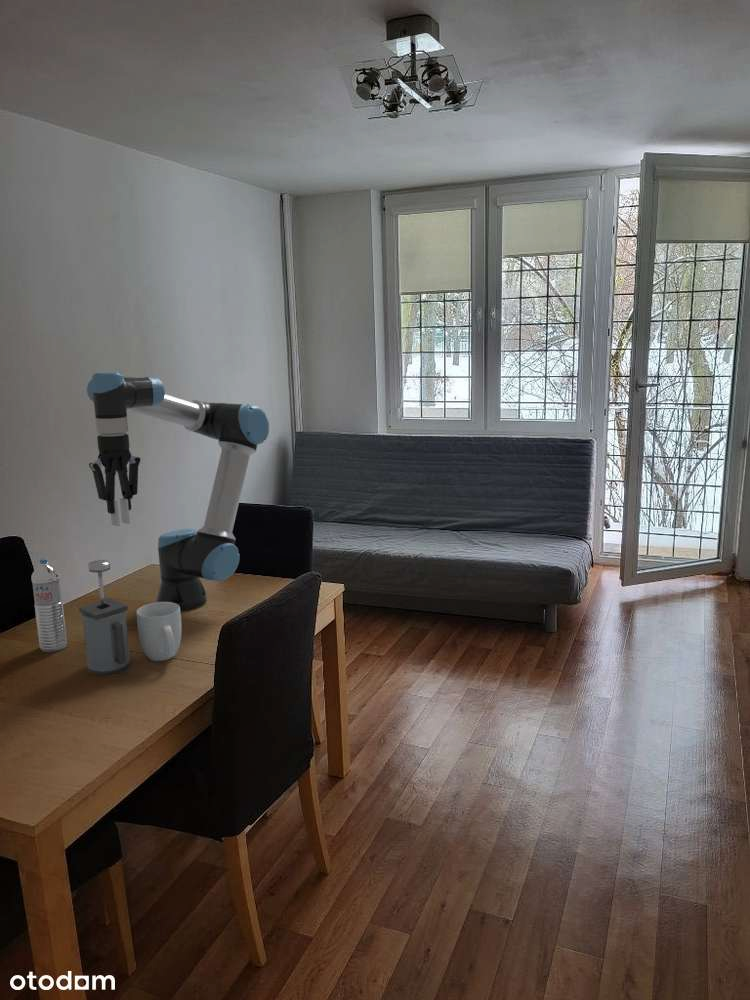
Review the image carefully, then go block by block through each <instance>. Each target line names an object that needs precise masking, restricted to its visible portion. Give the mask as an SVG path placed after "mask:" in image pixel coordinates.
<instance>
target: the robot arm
mask: <svg viewBox="0 0 750 1000" xmlns="http://www.w3.org/2000/svg"><path fill="white" fill-rule="evenodd" d="M91 376H92V378H91V379H90V380H89V382H88V383H87V387H86V394H87V396H88V398H89V400H91V402H92V403H93V406H94V415H95V429H96V434H98V436H97V437H96V439H97V449H98V452H99V453H98V456H97V459H96V460H95V461H94V462H90V463H89V464H88V467H89V469H91V471H92V474H93V478H94V483H95V486H96V487H95V488H96V493H97V497H98V499H99V500H102V501H105V502H106V509H107V513H108V514H110V519H111V520H110V521H111V525H112V526H115V527H120V526H121V524H122V523H123V524H126V525H129V524H131V521H130V520H131V518H130V511H131V510H132V501H131V500H132V499H133V497H134V496H136V495H138V485H139V484H138V481H139V465H140V463H141V459H142V458H141V457H138V456H134V455H132V453H131V451H130V437H129V434H128V432H129V423H128V414H127V412H128V411H131V412H133V413H138V414H141V415H145V416H148V417H152V418H156V419H159V420H162V421H166V422H170V423H173V424H177V425H180V426H183V427H184V428H185V429H186V431H188V432H189V431H190V432H192V433H196V434H200V435H202V436H205V437H207V438H210V439H213V440H218V442H217V444H218V445H219V447H220V448H221V451H220V456H219V460H218V465H217V467H216V468H217V469H216V473H215V476H214V481H213V486H212V488H211V489H212V490H211V494H210V498H209V501H208V508H207V511H206V515H205V518H204V519H205V520H204V524H203V526H202V527H201V528H199V529H198V530H195V529H193V528H185V529H184V528H183V529H178V530H172V531H168V532H165V533H162V534H161V535H159V537H158V539H157V541H158V542H157V543H158V544H157V545H158V547H157V550H158V553H157V554H158V562H159V563H158V564H159V572H160V573H159V574H160V584H159V588H158V592H157V596H156V602H172V603H175V604H178V605H179V606H180V612H184V611H190V610H195V609H197V608H201V607H202V606H203V605H205V604H206V603H207V600H208V599H207V592H206V590H205V587H204V585H203V583H202V580H201V579H205V580H207V581H215V582H222V581H226V580H228V579H229V577H231V576H232V575H234V573H235V571H236V570H237V569H238V566H239V563H240V560H241V559H240V553H239V549H238V547H237V546H236V545H235V544H236V537H235V535H234V534H233V530H234V526H235V521H236V517H237V513H238V510H239V509H238V508H239V504H240V501H241V500H240V499H241V494H242V491H243V488H244V487H243V486H244V483H245V478H246V474H247V468H248V465H249V460H250V457H251V456H252V455H253V454H255V453H256V452H257V449H258V445H261V444H262V443H264V442H265V441H266V440H267V439H268V436H269V432H270V424H269V419H268V417H267V415H266V412H265V411H264V410H263V409H262V408H261V407H259V406H257V405H253V404H248V403H243V404H242V403H229V402H227V403H226V402H204V401H201V400H197V399H194V400H191V401H190V400H187V399H183V398H180V397H177V396H174V395H171V394H168V393H166V392H165V391H166V390H165V386H164V383H163V382H162V381H161V379H159V377H158V378H157V377H155V376H152V377H151V376H150V377H149V376H145V377H124V374H123V372H121V371H98V372H95V373H94V374H92V375H91ZM127 465H128V467H127ZM102 466H103V467H104V474H105V477H104V474H103V471H102V468H103V467H102ZM116 474H117V476H118V480H119V485H120V491H121V495H122V497H120V498H119V502H118V500H115V498H116V497H115V495H116V491H115V490H116V487H115V486H116ZM104 478H105V479H104ZM118 503H119V504H118ZM119 505H120V509H119ZM119 510H120V512H119ZM119 513H120V514H119ZM120 516H121V522H120Z"/></svg>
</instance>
